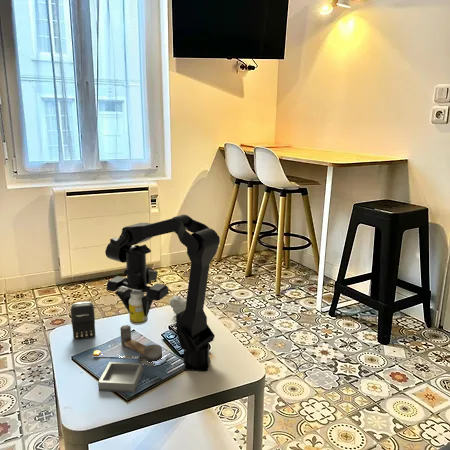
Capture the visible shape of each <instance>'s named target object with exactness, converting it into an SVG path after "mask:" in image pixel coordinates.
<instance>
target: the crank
mask: <svg viewBox="0 0 450 450" xmlns="http://www.w3.org/2000/svg"><path fill="white" fill-rule="evenodd" d="M119 329H120V344H121V345H122V346H126V347H128V348H129V349H131V350H133V351H135V352H137V353H139V354H140V355H142V354H143V355H144V358H145V359H146V360H147V361H157V360H159V359H161V358H162V351H163V348H162V346H161V345H160V344H155V343H154V344H149V345H145V344H142V343H141V342H140V341H137V340H135V339H132V332H131V331H132V330H131V326H130V325H125V324H124V325H122V326H120V328H119Z"/></svg>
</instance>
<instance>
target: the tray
mask: <svg viewBox="0 0 450 450" xmlns="http://www.w3.org/2000/svg"><path fill="white" fill-rule="evenodd" d="M142 372H143V373H144V365H143V363H140V362H124V361H123V362H122V361H109V362H108V364H107V366H106V367H105V370H104V371H103V373H102V374H101V377H100V378H99V379H98V381H97V383H98V384H97V385H98V388H97V389H98V392H111V393H112V392H113V393H114V392H115V393H117V392H118V391H119V392H118V393H133V392H134V393H135V392H136V390H137V388H138V385H139V383H140V380H141V378H140V377H142V376H141V375H143V373H142ZM139 379H140V380H139ZM138 382H139V383H138ZM136 387H137V388H136ZM122 391H123V392H122Z"/></svg>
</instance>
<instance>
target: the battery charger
mask: <svg viewBox="0 0 450 450" xmlns="http://www.w3.org/2000/svg"><path fill="white" fill-rule="evenodd" d="M95 314H96V313H95V305H94V303H93V302H91V301H81V302H74V303H73V304H72V305H71V306H70V320H71V328H72V338H73V339H74V340H76V341H77V340H86V339H92V338H95V336H96V317H95V316H96V315H95Z"/></svg>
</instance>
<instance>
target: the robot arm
mask: <svg viewBox="0 0 450 450" xmlns="http://www.w3.org/2000/svg"><path fill="white" fill-rule="evenodd" d="M171 233H175V234H176V236H177V238H178V240H179V242H180V244H182V245H183V246H185V247H186V253H187V256H188V258H189V261H190V267H189V268H190V270H189V277H188V285H187V286H188V287H187V295H186V308H185V310H184V311H182V312H180V313H178V314H177V315H176V318H175V320H176V321H175V325H174V328H176V330H175V331H176V335H177V338H178V341H179V345H180V348H181V349H182V350H183V365H184V370H185V371H197V372H208V371H209V367H210V362H211V357H210V343H212V342H213V341H214V340H215V334H214V332H213V330H212V329H211V328H210V327H209V324H208V317H207V314H206V312H205V311H204V306H205V301H206V291H207V287H208V286H207V285H208V277H209V271H210V264H211V262H212V260H213V259H214V257H215V255H217V251H218V249H219V245H220V241H221V240H220V236H219V235H218V233H217V232H216V230H214V229H213V228H211V227H209V226H208V225H207V224H205V223H202V222H199V221H198V220H195V219H193V218H192V217H191V216H189V215H187V214H179V215H176V216H174V217H172V218H169V219H165V220H160V221H156V222H151V223H150V222H138V223H135V224H132V225H131V224H130V225H128V226H123V227H122V229H121V233H120V235H119V236H118V237H112V238H110V239H109V243H108V244H107V246H106V247H105V251H104V252H105V256H106V258H107V259H110V260H113V261H116V262H119V263H123V264H125V263H126V265H125V267H126V268H125V270H124V271H123V275H126V277H124V276H119V275H117V276H115V277H113V278H111V279H109V280H108V281H107V283H106V291H109V292H114V294H115V295H117V297H118V298H119V299H120V301H121V302H122V303H123V305H124V306H125V309H126V311H128V313H129V299H130V298H131V291H133V290H136V291H141V292H144V293H145V295H144V297H143V298H142V305H143V311H144V315H145V316H148V315H149V313H150V310H151V307H152V304H153V302H154V301H156V302H157V301H161V300H162V299H163V298H165V297H167V295H169V293H170V292H169V286H168V285H166V284H161V283H155V284H154V285H152V286H148V285H150V284H151V283H152V281H153V282H157V279H158V273H159V272H158V271H157V270H152V269H150V267H149V266H147V256H146V255H147V254H149V253H152V250H151V249H150V247H148V246H147V245H146V244H143V245H138V244H141V243H144V242H147V241H149V240H151V239H153V237H158V236H162V235H165V234H171Z"/></svg>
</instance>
